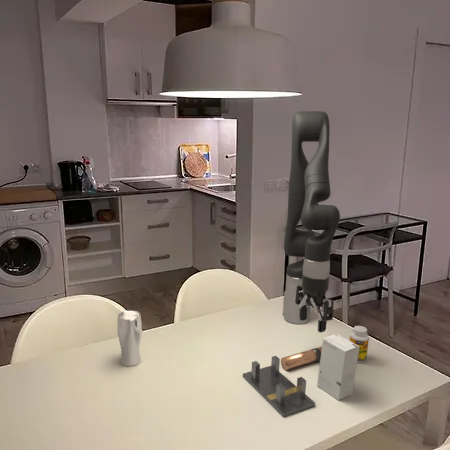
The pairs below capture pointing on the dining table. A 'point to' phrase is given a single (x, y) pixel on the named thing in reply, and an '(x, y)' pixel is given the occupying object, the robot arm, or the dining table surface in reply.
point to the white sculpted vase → (129, 337)
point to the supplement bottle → (360, 341)
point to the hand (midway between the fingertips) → (312, 325)
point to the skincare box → (338, 366)
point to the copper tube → (301, 358)
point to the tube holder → (279, 388)
